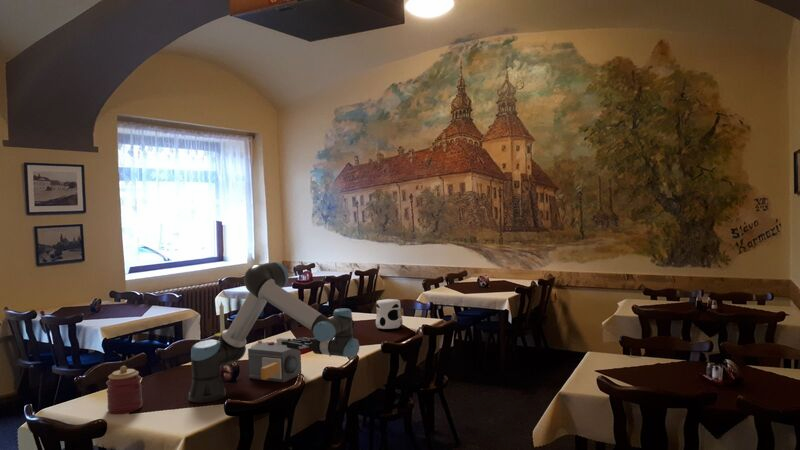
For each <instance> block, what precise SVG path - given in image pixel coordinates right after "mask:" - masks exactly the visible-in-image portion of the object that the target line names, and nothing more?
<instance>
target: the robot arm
mask: <svg viewBox="0 0 800 450" xmlns="http://www.w3.org/2000/svg"><path fill="white" fill-rule="evenodd" d="M288 272H289V271H288V269H287V267H286V266H285V265H284V264H283V263H282V262H278V261H270V262H265V263H261V264H255V265H252V266H251V267H249V268H248V269H247V271H246V272H245V273H244V277H243V282H244V286H245V288H246V290H247V291H248V292H249V293H248V294H247V297H246V298H245V300H244V301H243V303H242V305H241V307H240V309H239V310H238V312H237V313H236V316H235V317H234V319H232V322H231V324H230V326H229V327H228V329H225V330H224V331H223V332H222V334H221V336H218V337H219V338H218V339H206V340H200V341H199V342H196V343H194V344H193V345H192V346H191V348H190V363H191V385H190V389H189V392H188V401H189V402H191V403H198V404H199V403H202V404H203V403H209V402H210V403H211V402H216V401H218V400H219V401H220V400H221V399H223V398H224V397H225V396H226V395H227V393H226V392H227V390H226V387H225V385H224V382H223V380H222V375H221V368H223V367H225V366H229V365H232V364H233V363H236V362H238V361H239V360H241V359H242V358H243V357H244V356H245V353H246V351H247V347H246V346H247V339H246V338H247V337H248V335H249V333H250V331H251V330H252V328H253V327H254V325H255V323H256V321H257V320H258V319H259V316H260V315H261V313H262V311H263V310H264V308H265V306H266V305H267V303H269V304H270V305H272V306H274V307H275V308H277V309H278V310H280V311H281V312H283V313H284V314H286V315H288V316H289V317H291V318H292V319H294V320H295V321H296V322H298V323H300V324H301V325H302V326H304V327H306V328H307V329H309V330H310V331H312V334H313V336H314V337H296V338H288V337H287V338H285V337H278V338H276V343H277V345H282V346H287V348H292V349H297V350H300V351H301V352H302V351H303V350H306V351H308V350H309V351H310V350H311V351H312V353H313V354H315V355H325V356H326V355H328V356H329V357H332V356H334V357H344V358H353V357H354V358H355V357H356V356H357V355H358V353H359V351H360V342H359V340H358V339H356V338H355V337H354V335H353V334H354V333H353V314H352V310H351V309H350V308H342V307H341V308H336V309H334V311H333V313H332V314H333V315H332V317H330V318H329V317H327V316H326V315H324V314H322V313H321V312H319V311H318V310H316V309H314V308H313V307H312V306H310V305H309V304H307V303H305V302H304V301H302V300H301V299H299V298H298V297H296V296H295V295H293V294H291V293H290V292H288V291H287V290H286V289H284V287H285V286H286V285H287V284H288V282H289V279H290V278H289V273H288ZM231 363H232V364H231ZM228 364H229V365H228Z"/></svg>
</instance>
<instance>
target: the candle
mask: <svg viewBox="0 0 800 450" xmlns="http://www.w3.org/2000/svg"><path fill="white" fill-rule="evenodd" d="M218 306H219V326H220V327H219V328H220V332H216V333H214V334H213V335H214V336H215V337H220V336H221V334H222V332H223V331H224V330H226V328H225V311H224V310H225V309H224V308H225V306H224V305H223V302H222V301H221V302H220V304H219V305H218Z"/></svg>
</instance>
